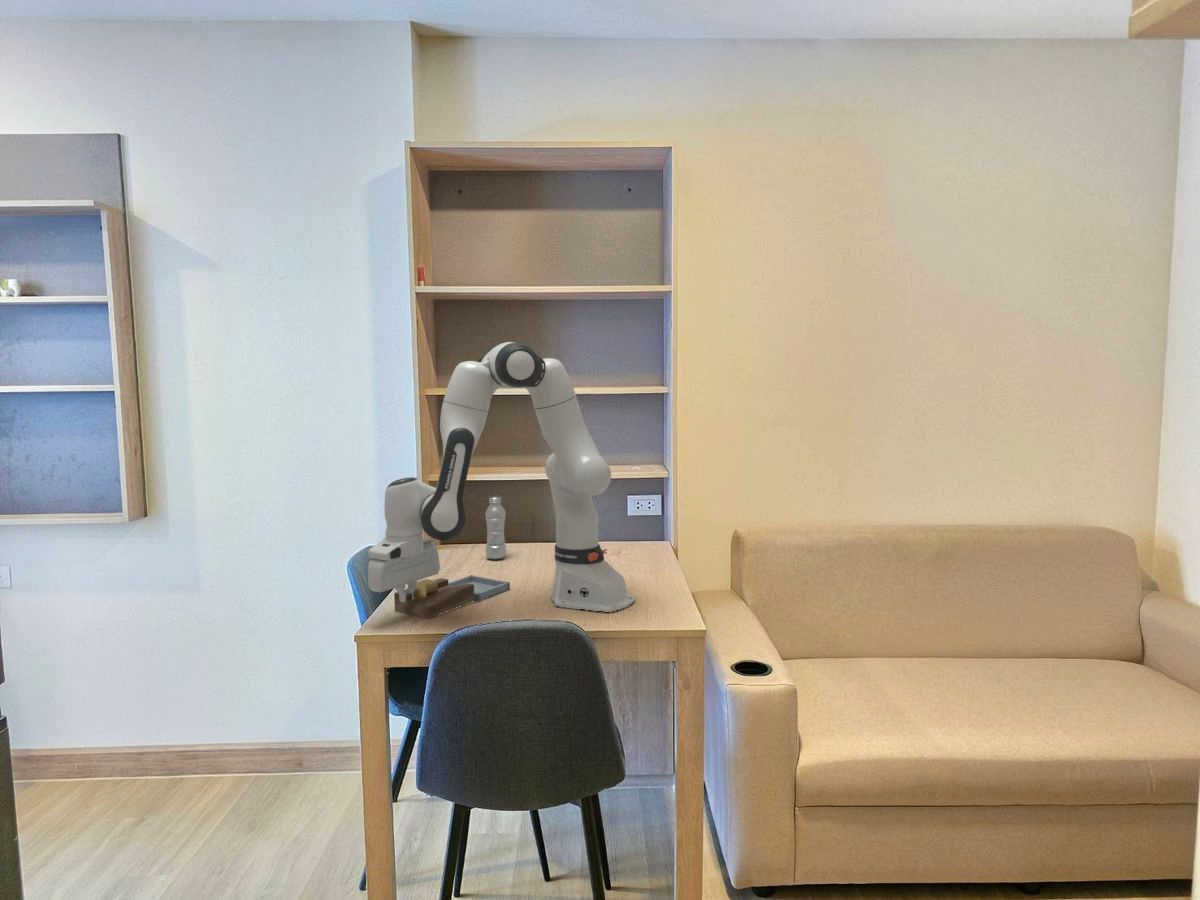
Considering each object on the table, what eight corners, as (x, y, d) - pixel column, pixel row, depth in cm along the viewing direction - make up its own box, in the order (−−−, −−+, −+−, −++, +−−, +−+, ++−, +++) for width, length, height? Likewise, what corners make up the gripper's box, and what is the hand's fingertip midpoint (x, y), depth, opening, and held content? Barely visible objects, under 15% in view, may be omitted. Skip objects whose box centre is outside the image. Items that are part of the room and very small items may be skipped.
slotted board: (474, 601, 193) (473, 584, 192) (429, 618, 179) (428, 600, 179) (440, 594, 199) (440, 577, 199) (394, 610, 186) (394, 593, 185)
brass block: (437, 596, 187) (437, 581, 187) (426, 600, 184) (425, 585, 183) (426, 594, 189) (426, 579, 189) (414, 598, 186) (414, 582, 186)
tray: (509, 589, 204) (509, 582, 203) (477, 601, 193) (477, 594, 192) (471, 581, 211) (471, 574, 211) (438, 593, 200) (438, 586, 200)
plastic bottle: (481, 559, 236) (480, 497, 234) (495, 555, 241) (494, 494, 239) (496, 562, 232) (495, 499, 230) (510, 558, 238) (509, 496, 236)
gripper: (426, 535, 190) (428, 587, 191) (362, 552, 173) (364, 609, 174) (444, 538, 186) (446, 591, 188) (381, 555, 169) (383, 614, 171)
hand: (406, 600), depth 181 cm, fingers closed
